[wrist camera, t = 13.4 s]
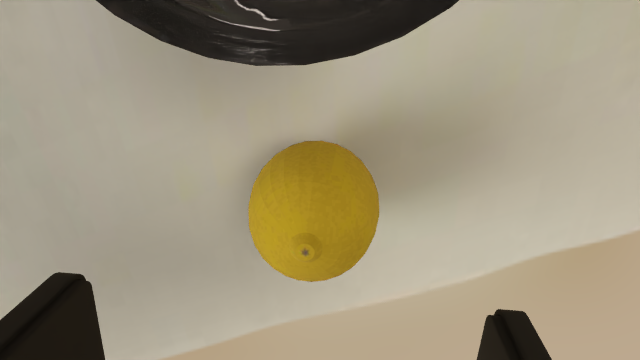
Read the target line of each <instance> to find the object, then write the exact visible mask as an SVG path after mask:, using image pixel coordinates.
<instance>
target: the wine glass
mask: <svg viewBox="0 0 640 360" xmlns="http://www.w3.org/2000/svg"><path fill="white" fill-rule="evenodd" d="M96 1H98V2H99V3H100V4H101V5H103V6H104V7H105V8H106V9H108V10H109V11H110V12H112V13H113V14H114V15H115V16H117V17H119V18H121V19H123V20H124V21H126V22H128V23H130V24H132V25H133V26H135V27H137V28H139V29H140V30H142V31H144V32H146V33H148V34H149V35H151V36H153V37H155V38H157V39H158V40H160V41H163V42H166V43H168V44H171V45H174V46H177V47H180V48H182V49H185V50H188V51H191V52H194V53H196V54H199V55H202V56H205V57H208V58H213V59H219V60H225V61H231V62H237V63H243V64H249V65H255V66H271V65H308V64H313V63H318V62H323V61H328V60H333V59H338V58H343V57H348V56H353V55H356V54H359V53H361V52H364V51H367V50H369V49H372V48H374V47H377V46H379V45H382V44H384V43H387V42H390V41H392V40H395V39H397V38H400V37H402V36H404V35H406V34H408V33H409V32H411V31H412V30H414V29H416V28H417V27H419V26H421V25H422V24H424V23H426V22H427V21H429V20H431V19H432V18H434V17H436V16H437V15H439V14H441V13H442V12H444V11H446V10H447V9H449V8H451V7H452V6H453V5H454V4H455V3H456V2H458V1H459V0H96Z"/></svg>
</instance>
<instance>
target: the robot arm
mask: <svg viewBox="0 0 640 360" xmlns="http://www.w3.org/2000/svg"><path fill="white" fill-rule="evenodd" d="M0 360H105V356H104V350H103V345H102V339H101V334H100V328H99V323H98V317H97V312H96V306H95V301H94V295H93V290H92V285H91V283H90V282H89V281H86V279H85V277H84V276H83V275H81V274H72V273H60V272H58V273H55V274H53V275H51V276H50V277H49V278H48V279H47V280H46V281H45V282H43V283H42V284H41V285H40V286H39V287H38V288H37V289H35V290H34V291H33V292H32V293H31V294H30V295H29V296H27V297H26V298H25V299H24V300H23V301H22V302H20V303H19V304H18V305H17V306H16V307H15V308H14V309H12V310H11V311H10V312H9V313H8V314H7V315H6V316H4V317H3V318H2V319H1V320H0ZM477 360H552V359H551V357H550V356H549V354H548V352H547V350H546V348H545V347H544V345H543V343H542V341H541V339H540V338H539V336H538V334H537V332H536V330H535V329H534V327H533V325H532V323H531V321H530V319H529V318H528V316H527V315H526V313H525V312H523V311H513V310H501V309H498V310H496V312H495V314H494V315H488V316H487V318H486V321H485V326H484V330H483V335H482V339H481V344H480V348H479V352H478V357H477Z"/></svg>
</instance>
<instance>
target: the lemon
mask: <svg viewBox="0 0 640 360" xmlns="http://www.w3.org/2000/svg"><path fill="white" fill-rule="evenodd" d="M378 218H379V200H378V192H377V189H376V186H375V183H374V181H373V178H372V175H371V174H370V172H369V171H368V170H367V168H366V167H365V165H364V164H363V162H362V161H361V160H360V159H359V158H357V157H356V156H355V155H354V154H353V153H352V152H351V151H349V150H347V149H345V148H343V147H341V146H339V145H337V144H333V143H329V142H324V141H305V142H302V143H298V144H295V145H292V146H290V147H288V148H286V149H284V150H283V151H281V152H279V153H278V154H276V155H275V156H274V157H273V158H272V159H271V160H270V161H269V162H268V163H267V164H266V165H265V166H264V167H263V169H262V170H261V172H260V174H259V176H258V178H257V179H256V181H255V183H254V185H253V189H252V193H251V197H250V202H249V228H250V232H251V235H252V238H253V241H254V244H255V246H256V248H257V249H258V251H259V253H260V254H261V256H262V257H263V259H264V260H265V261H266V262H267V263H269V264H270V265H271V266H272V267H273V268H274V269H275V270H277V271H279V272H280V273H282V274H284V275H285V276H288V277H291V278H294V279H297V280H302V281H311V282H313V281H322V280H327V279H330V278H333V277H336V276H339V275H341V274H343V273H344V272H346V271H347V270H349V269H350V268H352V267H353V266H354V265H355V264H356V263H357V262H358V261H359V260H360V259H361V258H362V257H363V255H364V254H365V253H366V251H367V249H368V247H369V245H370V243H371V241H372V239H373V237H374V235H375V232H376V227H377V222H378Z"/></svg>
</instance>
